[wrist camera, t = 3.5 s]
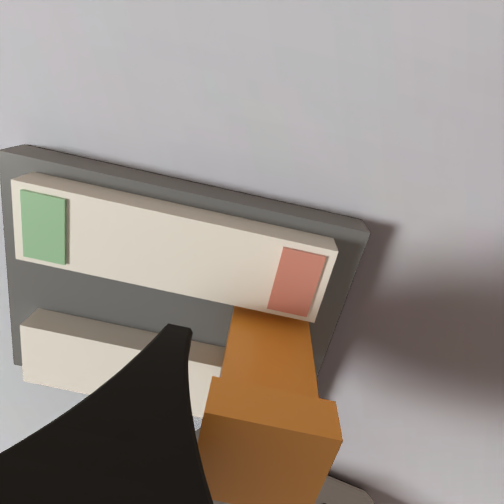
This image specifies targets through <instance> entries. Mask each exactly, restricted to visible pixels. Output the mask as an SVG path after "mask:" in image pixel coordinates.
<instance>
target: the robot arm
mask: <svg viewBox="0 0 504 504" xmlns="http://www.w3.org/2000/svg"><path fill="white" fill-rule="evenodd" d="M192 335H193V332H192V330H191V328H188V327H183V326H178V325H174V324H169V323H168V324H167V325H166V326H165V327H164V328H163V329H162V330H161V331H160V332H159V333H158V334H157V336H156V337H155V338H154V339H153V340H152V341H151V342H150V343H149V344H148V345H147V346H146V347H145V348H144V349H143V350H142V351H141V352H140V353H139V354H137V355H136V356H135V357H134V358H133V359H132V360H131V361H130V362H129V363H128V364H126V365H125V366H124V367H123V368H122V369H121V370H120V371H119V372H117V373H116V374H115V375H114V376H113V377H111V378H110V379H109V380H108V381H106V382H105V383H104V384H103V385H102V386H100V387H99V388H98V389H97V390H95V391H94V392H93V393H92V394H90V395H89V396H88V397H86V398H85V399H84V400H82V401H81V402H80V403H78V404H77V405H75V406H74V407H73V408H71V409H70V410H68V411H67V412H65V413H64V414H62V415H61V416H60V417H58V418H57V419H55V420H54V421H52V422H51V423H49V424H47V425H46V426H44V427H43V428H41V429H40V430H38V431H36V432H35V433H33V434H32V435H30V436H28V437H27V438H25V439H24V440H22V441H20V442H19V443H17V444H15V445H14V446H12V447H10V448H9V449H7V450H5V451H3V452H2V453H0V504H213V500H212V497H211V494H210V490H209V487H208V484H207V480H206V477H205V473H204V469H203V465H202V461H201V457H200V453H199V448H198V443H197V439H196V434H195V428H194V422H193V416H192V408H191V401H190V391H189V374H188V358H189V352H190V346H191V341H192Z"/></svg>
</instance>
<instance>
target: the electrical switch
mask: <svg viewBox="0 0 504 504" xmlns="http://www.w3.org/2000/svg"><path fill="white" fill-rule="evenodd" d="M200 429H201V428H200ZM200 429H198V430H196V431H195V434H196V439H197V443H198V438H199V433H200ZM213 504H230V503H225V502H220V501H215V500H213ZM315 504H374V502H373V500H372V498H371V497H370V496H369V495H368V494H367V493H366V492H365V491H364V490H361V489H359V488H357V487H354V486H352V485H349V484H347V483H345V482H342V481H340V480H337V479H335V478H332V477H330V476H328V475H327V477H326V479H325V482H324V484H323V486H322V488H321V490H320V493H319V495H318V497H317V499H316V501H315Z"/></svg>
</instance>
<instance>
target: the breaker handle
mask: <svg viewBox="0 0 504 504" xmlns="http://www.w3.org/2000/svg"><path fill="white" fill-rule="evenodd" d="M342 442H343V439H342V433H341V428H340V423H339V417H338V412H337V406H336V402H335V401H330V400H325V399H321V398H319V395H318V387H317V380H316V372H315V365H314V358H313V350H312V343H311V335H310V328H309V322H308V321H303V320H299V319H294V318H289V317H285V316H280V315H275V314H271V313H266V312H261V311H257V310H252V309H247V308H243V307H238V306H234V310H233V314H232V319H231V323H230V328H229V332H228V337H227V341H226V346H225V351H224V356H223V361H222V366H221V371H220V376H219V377H215V376H212V379H211V384H210V388H209V393H208V397H207V401H206V406H205V410H204V415H203V419H202V424H201V429H200V433H199V438H198V448H199V453H200V457H201V461H202V465H203V469H204V473H205V477H206V480H207V484H208V487H209V490H210V494H211V497H212V500H215V501H220V502H225V503H230V504H315V501H316V499H317V497H318V495H319V493H320V490H321V488H322V486H323V484H324V482H325V479H326V477H327V475H328V473H329V470H330V468H331V466H332V464H333V462H334V459H335V457H336V455H337V453H338V451H339V448H340V446H341V444H342Z"/></svg>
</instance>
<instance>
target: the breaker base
mask: <svg viewBox="0 0 504 504" xmlns="http://www.w3.org/2000/svg"><path fill="white" fill-rule="evenodd" d="M0 184H1V197H2V211H3V224H4V238H5V251H6V265H7V278H8V291H9V305H10V318H11V332H12V345H13V359H14V364H15V365H20V366H22V369H23V381H25V382H30V383H35V384H40V385H45V386H49V387H54V388H59V389H64V390H69V391H74V392H79V393H84V394H88V395H90V394H92V393H93V392H94V391H95V390H97V389H98V388H99V387H100V386H102V385H103V384H104V383H105V382H106V381H108V380H109V379H110V378H111V377H113V376H114V375H115V374H116V373H117V372H119V371H120V370H121V369H122V368H123V367H124V366H125V365H126V364H128V363H129V362H130V361H131V360H132V359H133V358H134V357H135V356H136V355H137V354H139V353H140V352H141V351H142V350H143V349H144V348H145V347H146V346H147V345H148V344H149V343H150V342H151V341H152V340H153V339H154V338H155V337H156V336H157V334H158V333H159V332H160V331H161V330H162V329H163V328H164V327H165V326H166V325H167V324H168V323H169V324H174V325H178V326H183V327H188V328H191V330H192V332H193V335H192V341H191V346H190V352H189V358H188V374H189V391H190V401H191V408H192V416H196V417H201V418H203V415H204V410H205V406H206V401H207V397H208V393H209V388H210V384H211V379H212V376H215V377H219V376H220V371H221V366H222V361H223V356H224V351H225V346H226V341H227V337H228V332H229V328H230V323H231V319H232V314H233V310H234V306H238V307H243V308H247V309H252V310H257V311H261V312H266V313H271V314H275V315H280V316H285V317H289V318H294V319H299V320H303V321H308V322H309V328H310V335H311V343H312V350H313V358H314V365H315V372H316V379H317V376H318V373H319V370H320V368H321V365H322V362H323V360H324V357H325V354H326V352H327V349H328V346H329V343H330V341H331V338H332V335H333V333H334V330H335V327H336V325H337V322H338V319H339V317H340V314H341V311H342V308H343V306H344V303H345V300H346V298H347V295H348V292H349V290H350V287H351V284H352V281H353V279H354V276H355V273H356V271H357V268H358V265H359V263H360V260H361V257H362V255H363V252H364V249H365V246H366V244H367V241H368V238H369V236H370V232H369V230H368V228H367V227H366V225H365V224H364V222H363V221H362V220H361V219H356V218H352V217H347V216H343V215H338V214H334V213H329V212H325V211H320V210H316V209H311V208H307V207H302V206H298V205H294V204H289V203H285V202H280V201H276V200H271V199H267V198H262V197H258V196H253V195H249V194H244V193H240V192H235V191H231V190H226V189H222V188H217V187H213V186H208V185H204V184H199V183H195V182H191V181H186V180H182V179H177V178H173V177H168V176H164V175H159V174H155V173H150V172H146V171H141V170H137V169H132V168H128V167H123V166H119V165H114V164H110V163H105V162H101V161H97V160H92V159H88V158H83V157H79V156H74V155H70V154H65V153H61V152H56V151H52V150H47V149H43V148H38V147H34V146H29V145H25V144H24V145H19V146H15V147H10V148H6V149H1V150H0Z"/></svg>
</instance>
